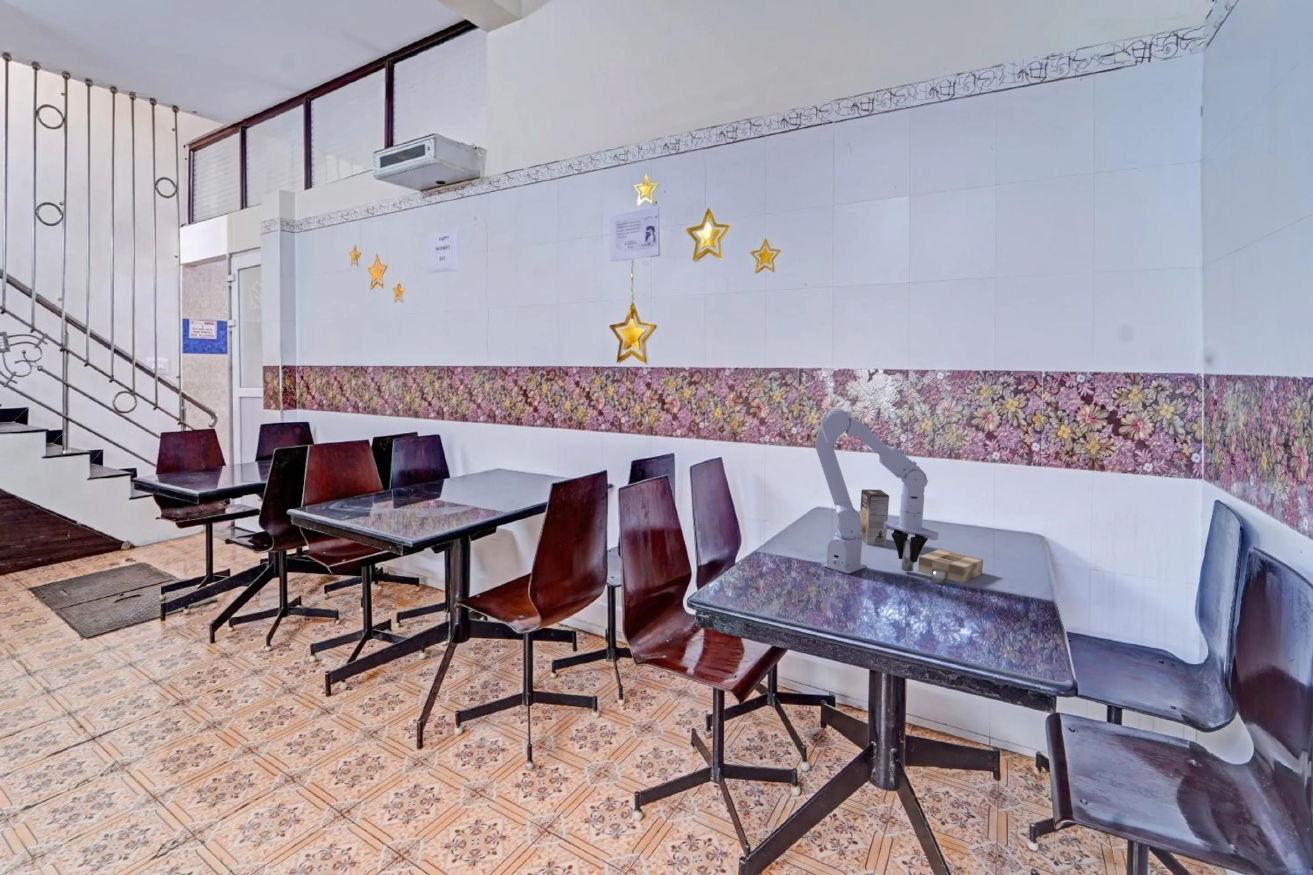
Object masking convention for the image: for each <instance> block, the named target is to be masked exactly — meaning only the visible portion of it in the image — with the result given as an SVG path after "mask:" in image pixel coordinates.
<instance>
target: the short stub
mask: <svg viewBox="0 0 1313 875" xmlns="http://www.w3.org/2000/svg"><path fill="white" fill-rule="evenodd" d="M931 575H932V574H931ZM931 577H932V578H931V583H933V584H935V585H940V586H941V585H946V584H945V582H946V581H945V580H946V578H945V572H944V571H942V570H933V575H932V576H931Z"/></svg>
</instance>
